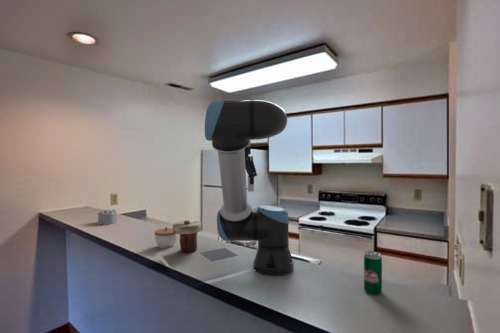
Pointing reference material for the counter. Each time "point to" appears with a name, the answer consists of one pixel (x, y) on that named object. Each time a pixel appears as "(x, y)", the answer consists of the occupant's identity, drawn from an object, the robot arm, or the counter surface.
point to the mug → (188, 242)
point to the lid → (186, 227)
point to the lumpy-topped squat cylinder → (107, 217)
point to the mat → (218, 254)
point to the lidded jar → (165, 237)
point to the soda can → (373, 273)
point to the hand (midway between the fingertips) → (243, 190)
